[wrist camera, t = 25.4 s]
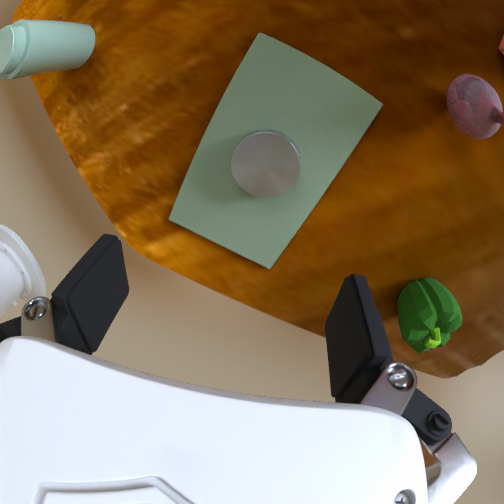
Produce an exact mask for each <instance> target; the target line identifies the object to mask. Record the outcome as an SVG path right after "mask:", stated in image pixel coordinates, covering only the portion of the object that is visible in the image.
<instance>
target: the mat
mask: <svg viewBox="0 0 504 504" xmlns="http://www.w3.org/2000/svg"><path fill="white" fill-rule="evenodd" d="M382 106H383V104H382V103H381V102H380V101H378V100H377V99H376V98H374V97H373V96H371V95H370V94H369V93H367V92H366V91H364V90H363V89H362V88H360V87H359V86H357V85H356V84H354V83H353V82H351V81H350V80H348V79H347V78H345V77H344V76H342V75H340V74H339V73H337V72H336V71H334V70H332V69H331V68H329V67H327V66H326V65H324V64H322V63H320V62H319V61H317V60H315V59H313V58H312V57H310V56H308V55H306V54H304V53H302V52H300V51H298V50H297V49H295V48H293V47H291V46H289V45H287V44H284V43H282V42H280V41H278V40H276V39H274V38H272V37H269V36H267V35H265V34H263V33H260V32H259V33H258V35H257V36H256V38H255V40H254V41H253V43H252V45H251V46H250V48H249V50H248V52H247V53H246V55H245V57H244V58H243V60H242V62H241V64H240V65H239V67H238V69H237V71H236V73H235V74H234V76H233V78H232V80H231V82H230V84H229V86H228V87H227V89H226V91H225V93H224V95H223V97H222V99H221V101H220V103H219V105H218V107H217V109H216V111H215V113H214V115H213V117H212V119H211V121H210V123H209V125H208V127H207V129H206V131H205V134H204V136H203V138H202V140H201V142H200V144H199V147H198V149H197V151H196V153H195V155H194V158H193V160H192V162H191V165H190V167H189V169H188V172H187V174H186V176H185V179H184V181H183V183H182V186H181V188H180V191H179V193H178V196H177V198H176V201H175V203H174V206H173V208H172V211H171V214H170V216H169V220H170V221H172V222H174V223H177V224H179V225H181V226H183V227H185V228H187V229H189V230H191V231H193V232H195V233H197V234H199V235H201V236H203V237H205V238H207V239H209V240H211V241H213V242H215V243H217V244H219V245H221V246H223V247H225V248H227V249H229V250H231V251H233V252H235V253H237V254H239V255H241V256H244V257H246V258H248V259H250V260H252V261H254V262H256V263H258V264H260V265H262V266H264V267H266V268H268V269H270V268H271V267H272V265H273V264H274V263H275V261H276V260H277V259H278V257H279V256H280V254H281V253H282V252H283V250H284V249H285V247H286V246H287V245H288V243H289V242H290V240H291V239H292V238H293V236H294V235H295V233H296V232H297V231H298V229H299V228H300V226H301V225H302V224H303V222H304V221H305V219H306V218H307V216H308V215H309V214H310V212H311V211H312V209H313V208H314V206H315V205H316V204H317V202H318V201H319V199H320V198H321V196H322V195H323V194H324V192H325V191H326V189H327V188H328V186H329V185H330V183H331V182H332V180H333V179H334V178H335V176H336V175H337V173H338V172H339V170H340V169H341V167H342V166H343V164H344V163H345V161H346V160H347V158H348V157H349V156H350V154H351V153H352V151H353V150H354V148H355V147H356V145H357V144H358V142H359V141H360V139H361V138H362V136H363V135H364V133H365V132H366V130H367V129H368V127H369V126H370V124H371V123H372V121H373V120H374V118H375V117H376V115H377V113H378V112H379V110H380V109H381V107H382ZM258 129H260V130H261V129H271V130H272V129H273V130H276V131H279V132H281V133H283V134H286V136H287V137H289V138H290V139H291V140H292V141H293V143H295V145H296V147H297V150H298V152H299V155H300V157H301V159H300V162H301V169H300V170H301V172H300V174H299V177H298V180H297V181H296V183H295V184H294V186H293V187H292V188H291V189H290V190H288V191H287V192H286V193H284V194H282V195H280V196H277V197H272V198H261V197H257V196H254V195H251V194H249V193H247V192H246V191H244V190H243V189H242V188H241V187H240V186H239V185H238V184H237V182H236V181H235V179H234V177H233V174H232V171H231V158H232V154H233V152H234V150H235V148H236V147H235V146H236V145H237V144H239V142H240V141H241V140H242V139H243V138H244V137H245V136H246V134H247V135H248V134H250V133H252V132H254V131H257V130H258Z"/></svg>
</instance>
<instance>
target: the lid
mask: <svg viewBox="0 0 504 504" xmlns="http://www.w3.org/2000/svg"><path fill="white" fill-rule="evenodd" d="M235 147H236V148H235V150H234V152H233V154H232V158H231V171H232V174H233V177H234V179H235V181H236V182H237V184H238V185H239V186H240V187H241V188H242V189H243V190H244V191H246V192H247V193H249V194H251V195H254V196H257V197H261V198H272V197H277V196H280V195H282V194H284V193H286V192H287V191H288V190H290V189H291V188H292V187H293V186H294V184H295V183H296V181H297V180H298V177H299V174H300V172H301V170H300V169H301V162H300V159H301V157H300V155H299V152H298V150H297V147H296V145H295V143H293V141H292V140H291V139H290V138H289V137H287V136H286V134H283V133H281V132H279V131H276V130H273V129H272V130H271V129H261V130H260V129H258V130H257V131H254V132H252V133H250V134H248V135H247V134H246V136H245V137H244V138H243V139H242V140H241V141H240V142H239V144H237V145H236V146H235Z"/></svg>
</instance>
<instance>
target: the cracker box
mask: <svg viewBox="0 0 504 504" xmlns="http://www.w3.org/2000/svg"><path fill="white" fill-rule="evenodd" d="M498 49H499V50H500V51H501V53H502V54H503V55H504V34H503V37H502V40H501V42H500V45H499V48H498Z"/></svg>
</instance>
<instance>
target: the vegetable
mask: <svg viewBox="0 0 504 504" xmlns="http://www.w3.org/2000/svg"><path fill="white" fill-rule="evenodd" d="M446 101H447V108H448V111H449V114H450V116H451V118H452V120H453V122H454V123H455V125H456V126H457V127H458V128H459V129H460V130H461V131H462V132H463V133H465V134H466V135H468V136H470V137H472V138H475V139H486V138H489V137H490V136H492V135H494V134H495V132H496V131H497V130H498V128H499V127H500V125H501V124H504V113H503V112H502V104H501V102H500V99H499V97H498V95H497V93H496V91H495V90H494V88H493V87H492V86H491V85H490V84H489V83H488V82H487V81H485V80H484V79H482V78H480V77H478V76H476V75H472V74H463V75H460V76H458V77H457V78H456V79H455V80H453V81H452V83H451V84H450V86H449V88H448V91H447V98H446Z"/></svg>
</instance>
